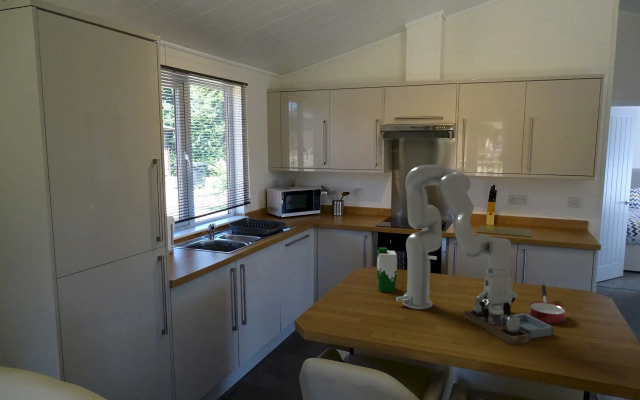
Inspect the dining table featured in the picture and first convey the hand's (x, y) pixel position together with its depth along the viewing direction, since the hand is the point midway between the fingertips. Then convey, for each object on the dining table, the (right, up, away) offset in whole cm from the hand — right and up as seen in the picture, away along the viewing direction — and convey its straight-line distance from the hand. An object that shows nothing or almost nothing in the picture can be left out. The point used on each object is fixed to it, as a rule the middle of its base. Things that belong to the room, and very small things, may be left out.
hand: (495, 316), depth 169 cm
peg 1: (-3, -4, +9) cm, 10 cm away
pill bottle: (0, -5, +1) cm, 5 cm away
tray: (+12, -5, 0) cm, 13 cm away
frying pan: (+28, -3, +20) cm, 34 cm away
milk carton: (-34, +1, +45) cm, 57 cm away
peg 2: (+3, -6, -8) cm, 10 cm away
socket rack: (0, -5, +1) cm, 5 cm away
